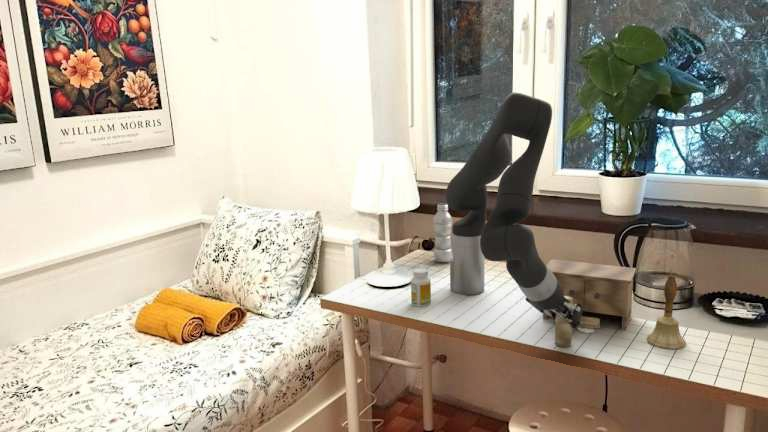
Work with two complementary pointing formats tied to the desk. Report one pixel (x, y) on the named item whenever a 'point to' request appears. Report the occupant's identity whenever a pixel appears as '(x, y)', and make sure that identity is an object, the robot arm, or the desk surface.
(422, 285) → the supplement bottle
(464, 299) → the desk surface
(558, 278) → the cabinet
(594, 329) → the token
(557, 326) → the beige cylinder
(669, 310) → the hand bell
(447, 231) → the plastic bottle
